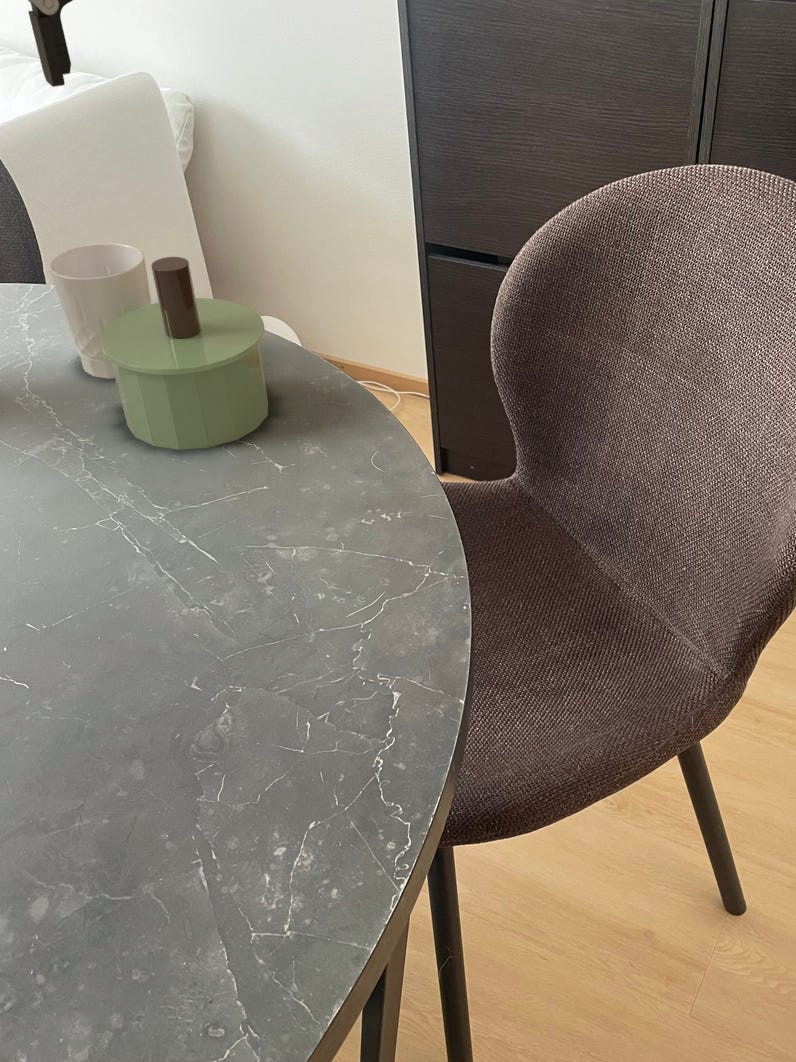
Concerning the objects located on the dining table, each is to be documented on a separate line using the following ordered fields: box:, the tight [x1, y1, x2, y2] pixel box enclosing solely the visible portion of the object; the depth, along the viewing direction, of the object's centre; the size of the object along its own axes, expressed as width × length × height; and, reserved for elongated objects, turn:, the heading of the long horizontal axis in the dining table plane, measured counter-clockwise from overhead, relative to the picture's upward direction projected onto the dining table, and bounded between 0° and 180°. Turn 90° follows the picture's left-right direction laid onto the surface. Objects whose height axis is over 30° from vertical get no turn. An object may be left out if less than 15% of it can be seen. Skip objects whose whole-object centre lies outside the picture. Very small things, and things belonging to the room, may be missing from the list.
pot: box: [111, 344, 269, 451], centre depth 86 cm, size 12×12×8 cm
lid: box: [101, 256, 266, 375], centre depth 82 cm, size 13×13×7 cm
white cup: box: [48, 242, 153, 380], centre depth 92 cm, size 8×8×10 cm
